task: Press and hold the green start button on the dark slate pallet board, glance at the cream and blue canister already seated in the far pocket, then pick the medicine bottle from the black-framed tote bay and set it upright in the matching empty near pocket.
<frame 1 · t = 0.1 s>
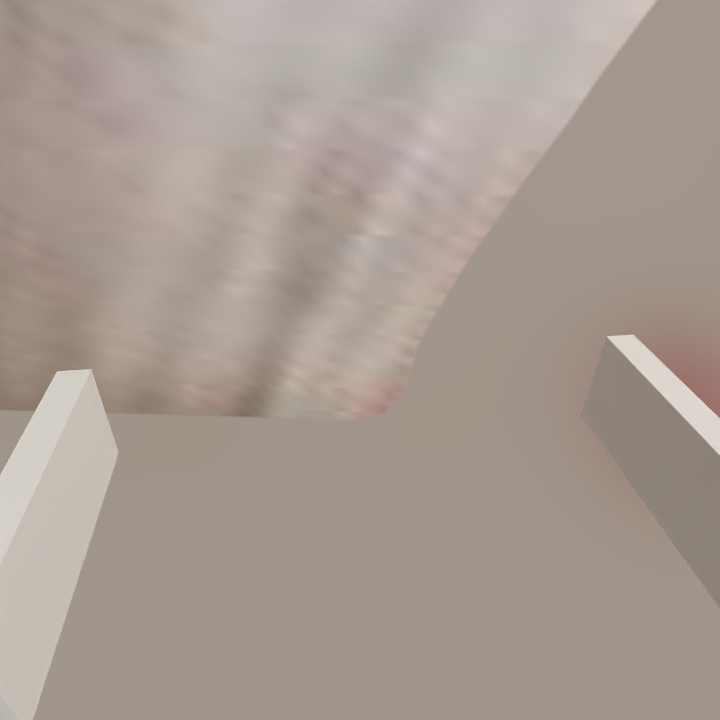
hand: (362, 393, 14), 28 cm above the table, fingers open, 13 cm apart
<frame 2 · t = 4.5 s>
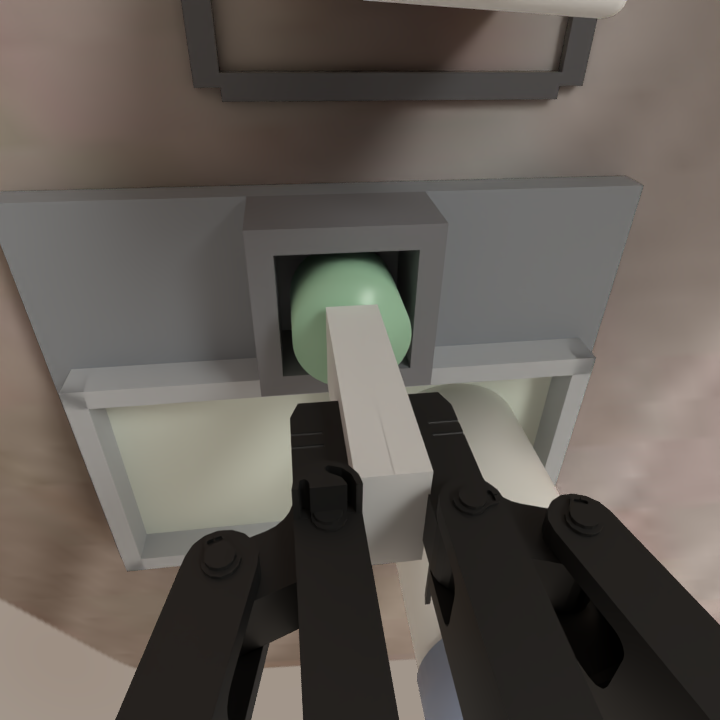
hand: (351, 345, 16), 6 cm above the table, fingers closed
cream and blue canister: (444, 441, 25), point 1 cm above the table, touching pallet
button: (347, 314, 18), point 4 cm above the table, slide at 0.7 cm, touching gripper
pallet: (336, 385, 24), on the table
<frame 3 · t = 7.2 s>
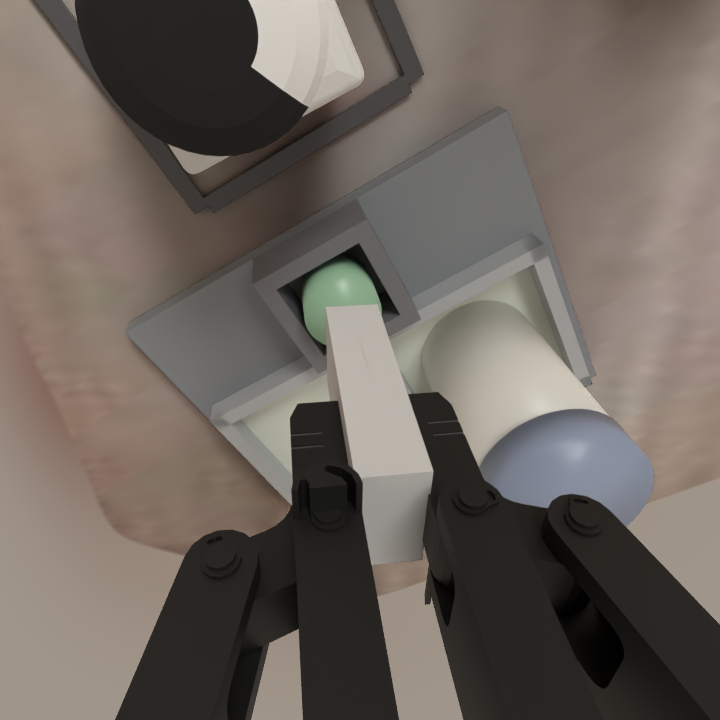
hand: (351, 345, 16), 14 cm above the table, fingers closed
medicine bottle: (231, 16, 23), on the table
cream and blue canister: (476, 351, 32), point 1 cm above the table, touching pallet
button: (339, 299, 26), point 4 cm above the table, slide at 0.8 cm
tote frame: (230, 16, 23), on the table
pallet: (380, 345, 33), on the table
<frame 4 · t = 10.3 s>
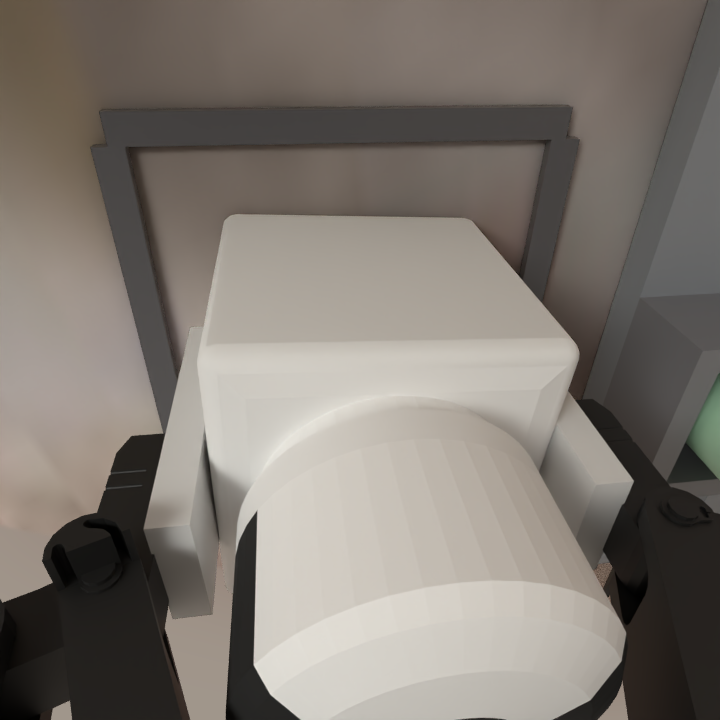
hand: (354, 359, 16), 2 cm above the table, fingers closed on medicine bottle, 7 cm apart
medicine bottle: (345, 318, 17), on the table, touching gripper
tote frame: (346, 322, 17), on the table
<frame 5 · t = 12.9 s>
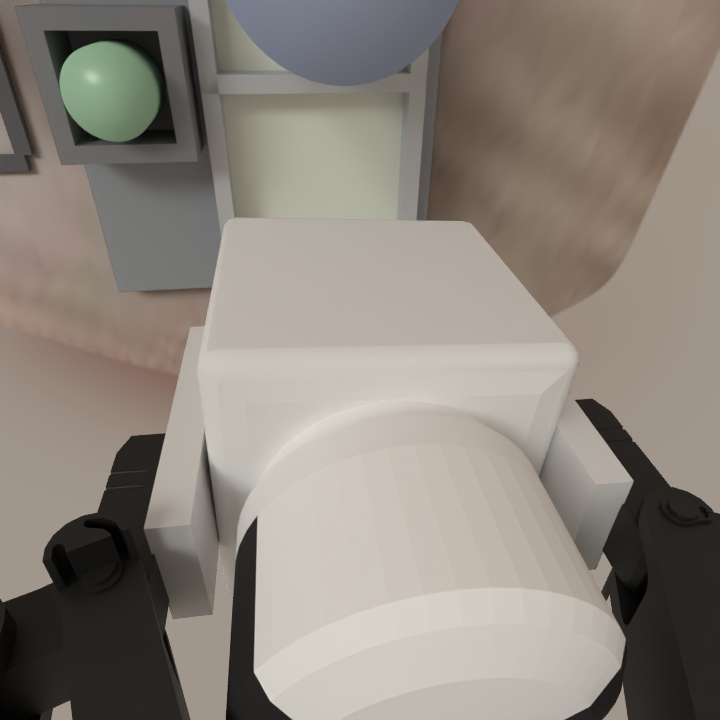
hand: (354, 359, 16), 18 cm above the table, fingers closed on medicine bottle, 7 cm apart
medicine bottle: (345, 321, 17), point 16 cm above the table, touching gripper
button: (116, 89, 23), point 4 cm above the table, slide at 0.8 cm
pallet: (258, 76, 27), on the table
when the fingers open (5 cm above the table, at t = 15.7 s): medicine bottle drops 2 cm, resting on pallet.
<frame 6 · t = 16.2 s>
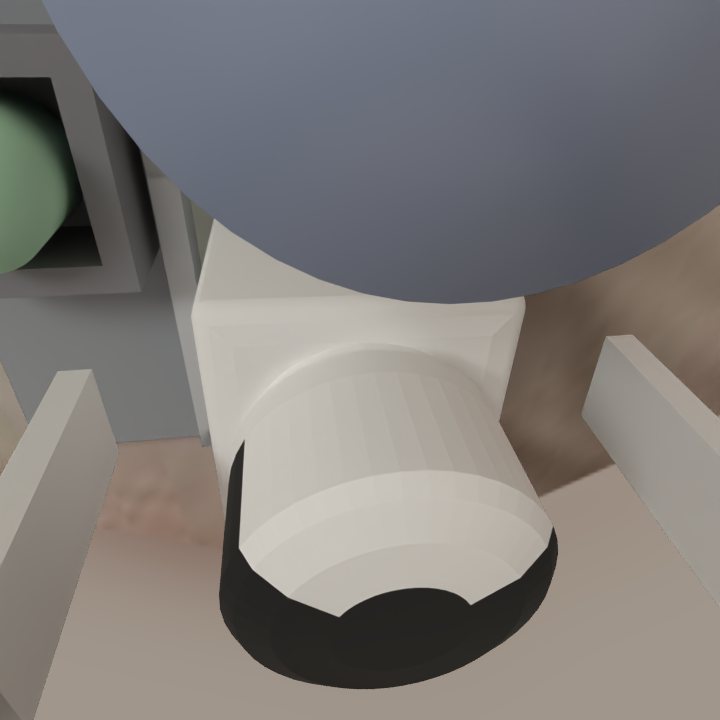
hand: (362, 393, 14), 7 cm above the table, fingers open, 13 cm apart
medicine bottle: (332, 292, 19), point 1 cm above the table, touching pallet
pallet: (247, 137, 17), on the table
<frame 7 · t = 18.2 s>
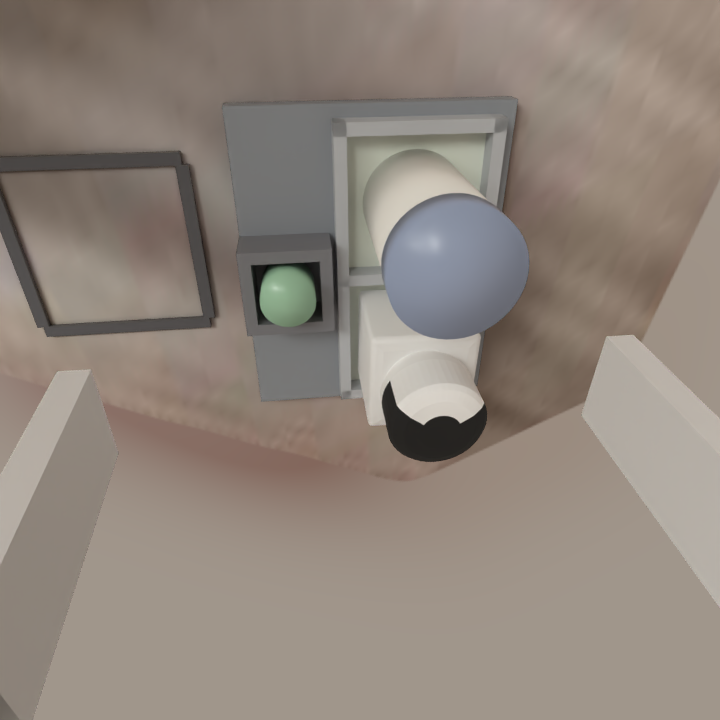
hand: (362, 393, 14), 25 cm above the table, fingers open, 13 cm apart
medicine bottle: (403, 327, 42), point 1 cm above the table, touching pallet
cream and blue canister: (413, 202, 36), point 1 cm above the table, touching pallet
button: (288, 292, 36), point 4 cm above the table, slide at 0.8 cm
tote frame: (109, 250, 37), on the table
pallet: (370, 264, 40), on the table
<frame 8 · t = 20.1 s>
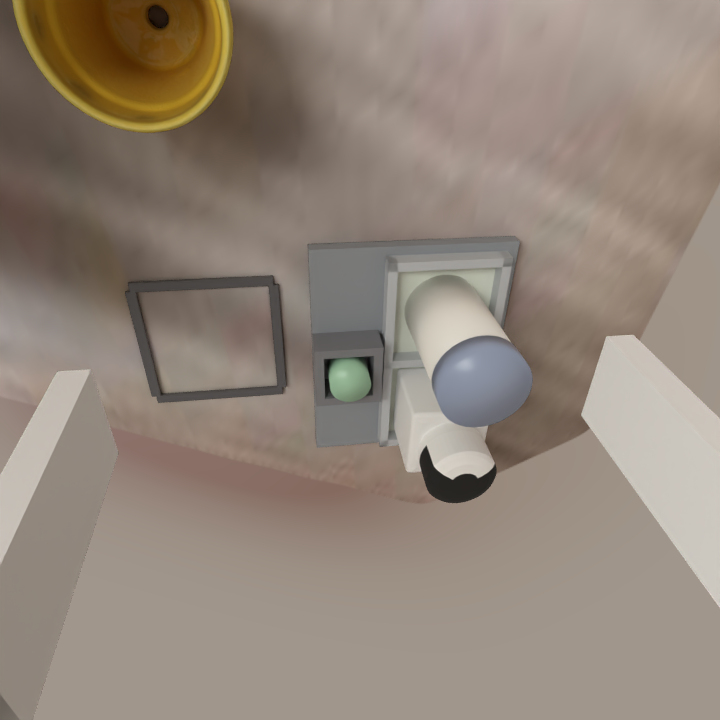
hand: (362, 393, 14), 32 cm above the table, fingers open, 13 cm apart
medicine bottle: (428, 393, 55), point 1 cm above the table, touching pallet
cream and blue canister: (441, 308, 49), point 1 cm above the table, touching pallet
plant pot: (158, 15, 35), on the table
button: (348, 375, 49), point 4 cm above the table, slide at 0.8 cm
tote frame: (212, 341, 49), on the table
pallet: (405, 347, 53), on the table
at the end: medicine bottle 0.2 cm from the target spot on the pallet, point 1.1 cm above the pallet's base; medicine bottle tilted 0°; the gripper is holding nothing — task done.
